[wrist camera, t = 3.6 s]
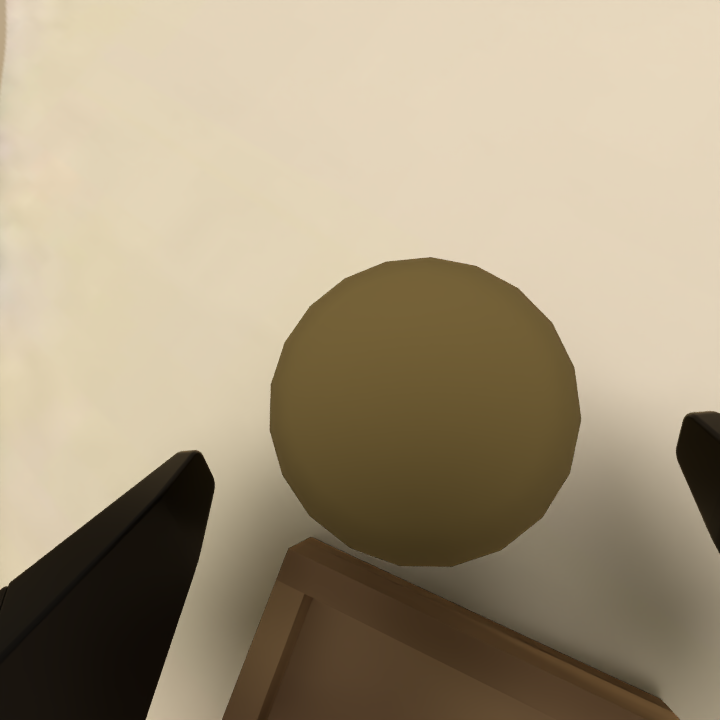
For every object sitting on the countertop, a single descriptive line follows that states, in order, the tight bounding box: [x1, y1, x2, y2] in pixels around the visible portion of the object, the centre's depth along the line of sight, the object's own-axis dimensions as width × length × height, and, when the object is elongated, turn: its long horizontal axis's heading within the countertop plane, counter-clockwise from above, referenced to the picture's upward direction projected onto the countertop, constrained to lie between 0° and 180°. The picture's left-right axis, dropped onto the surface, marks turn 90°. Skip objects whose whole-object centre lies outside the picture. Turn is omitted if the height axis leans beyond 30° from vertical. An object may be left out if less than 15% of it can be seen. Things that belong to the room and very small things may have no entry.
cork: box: [270, 257, 581, 567], centre depth 12 cm, size 6×6×11 cm
